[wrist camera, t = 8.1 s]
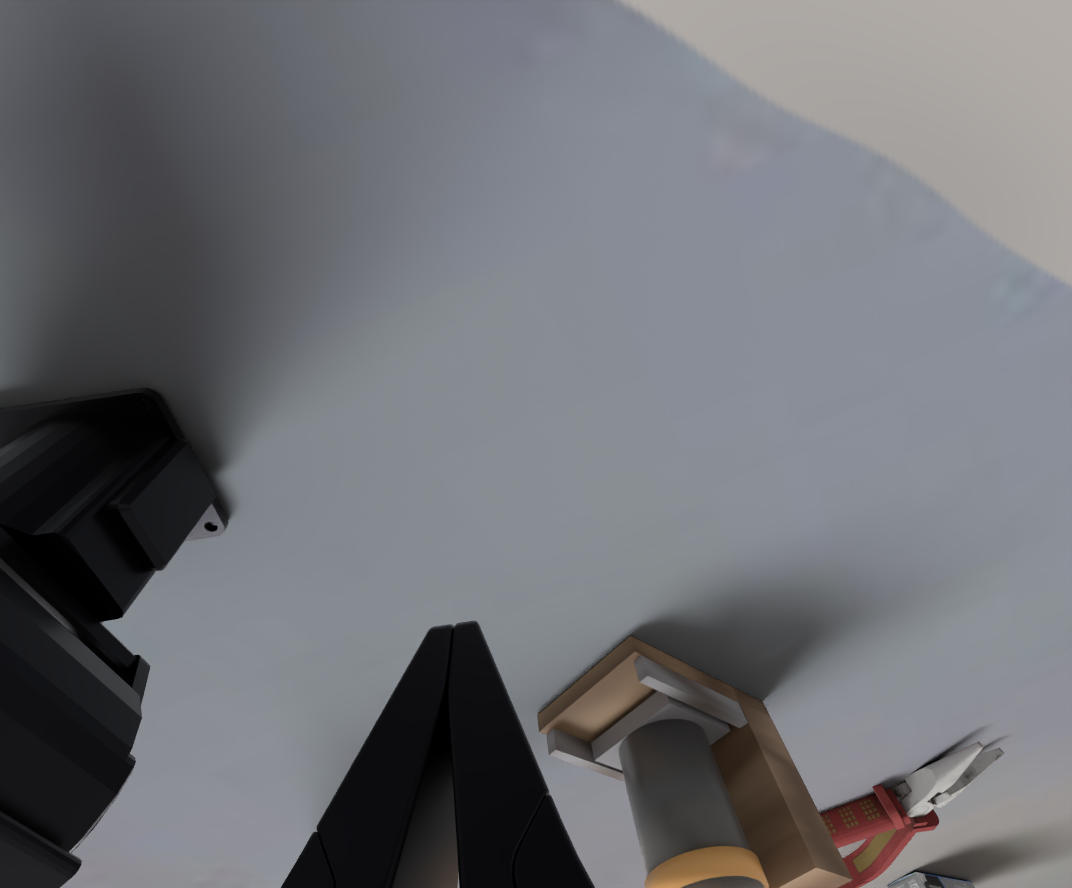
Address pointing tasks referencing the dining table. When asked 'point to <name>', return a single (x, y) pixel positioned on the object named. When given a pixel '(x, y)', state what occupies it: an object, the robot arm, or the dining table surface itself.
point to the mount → (742, 754)
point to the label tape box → (928, 882)
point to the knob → (679, 797)
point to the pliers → (901, 812)
